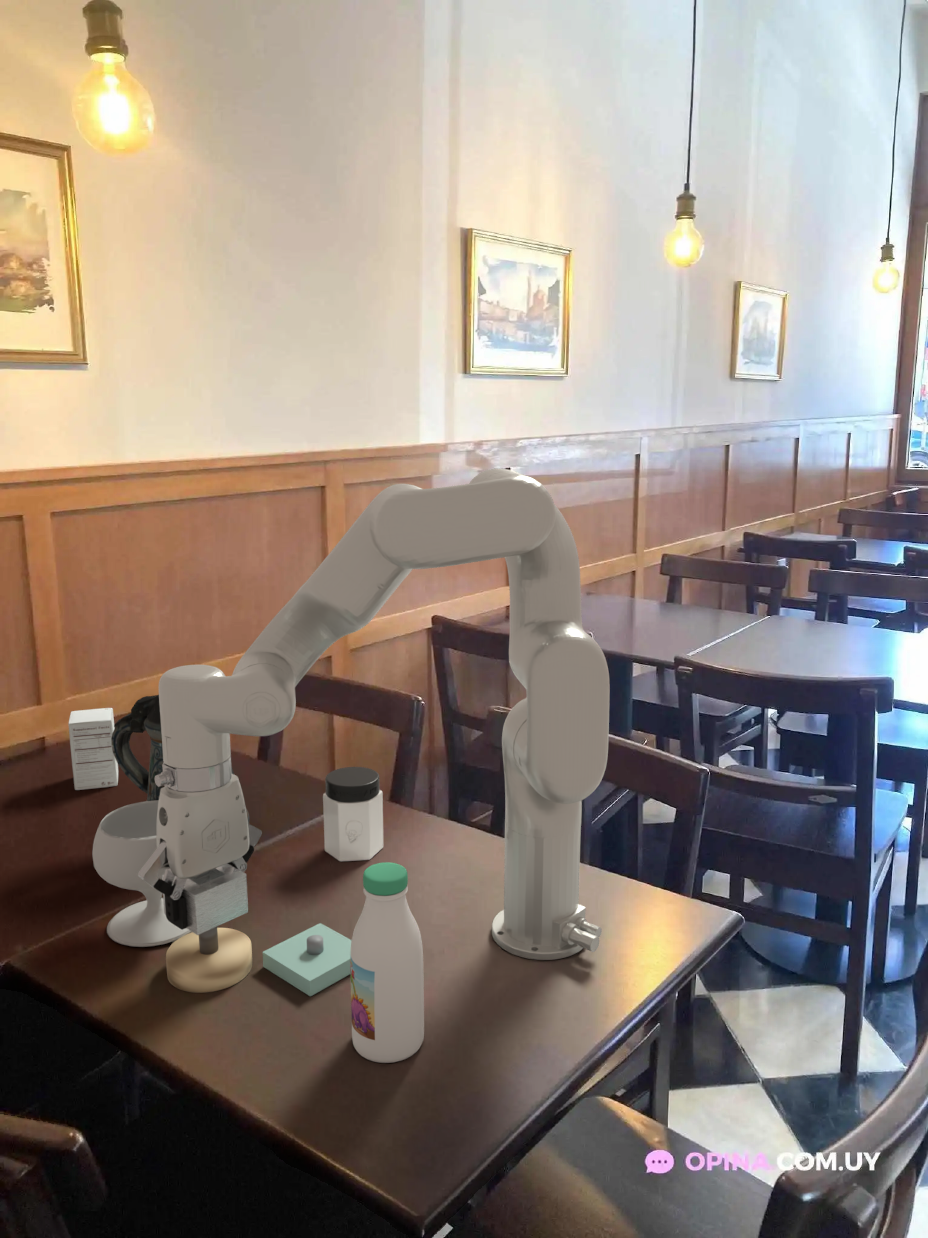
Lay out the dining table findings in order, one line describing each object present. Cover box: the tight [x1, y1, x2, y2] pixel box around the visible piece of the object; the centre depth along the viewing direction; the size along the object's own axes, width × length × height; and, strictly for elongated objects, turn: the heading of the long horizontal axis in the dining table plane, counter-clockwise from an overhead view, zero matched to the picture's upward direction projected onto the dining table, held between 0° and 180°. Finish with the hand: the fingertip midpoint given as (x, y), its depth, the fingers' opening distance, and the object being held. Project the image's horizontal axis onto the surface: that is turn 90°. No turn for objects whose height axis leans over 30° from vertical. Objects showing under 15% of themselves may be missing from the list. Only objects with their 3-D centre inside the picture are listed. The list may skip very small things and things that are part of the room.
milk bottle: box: [349, 861, 425, 1064], centre depth 102 cm, size 8×8×20 cm
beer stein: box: [111, 694, 250, 824], centre depth 148 cm, size 16×19×25 cm
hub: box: [165, 926, 253, 994], centre depth 117 cm, size 10×10×7 cm
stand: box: [262, 922, 352, 997], centre depth 118 cm, size 9×9×4 cm
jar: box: [322, 766, 384, 862], centre depth 147 cm, size 9×8×12 cm
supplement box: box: [68, 707, 119, 791], centre depth 174 cm, size 7×7×13 cm
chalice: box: [92, 800, 192, 948], centre depth 126 cm, size 14×14×15 cm
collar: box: [162, 864, 249, 935], centre depth 115 cm, size 7×7×5 cm
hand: (206, 911), depth 116 cm, fingers closed on collar, 7 cm apart
